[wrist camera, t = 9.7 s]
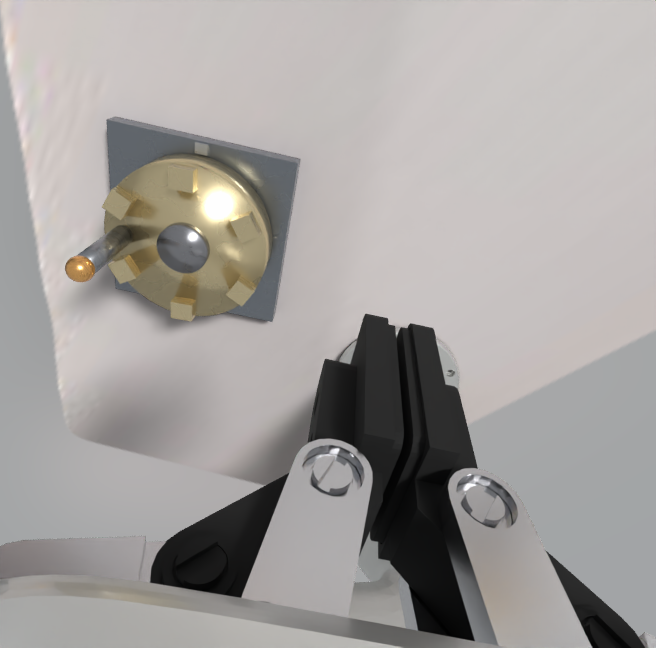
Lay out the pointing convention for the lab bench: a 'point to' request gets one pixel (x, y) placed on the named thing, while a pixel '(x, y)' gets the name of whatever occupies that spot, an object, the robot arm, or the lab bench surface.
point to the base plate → (252, 164)
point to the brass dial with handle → (183, 236)
